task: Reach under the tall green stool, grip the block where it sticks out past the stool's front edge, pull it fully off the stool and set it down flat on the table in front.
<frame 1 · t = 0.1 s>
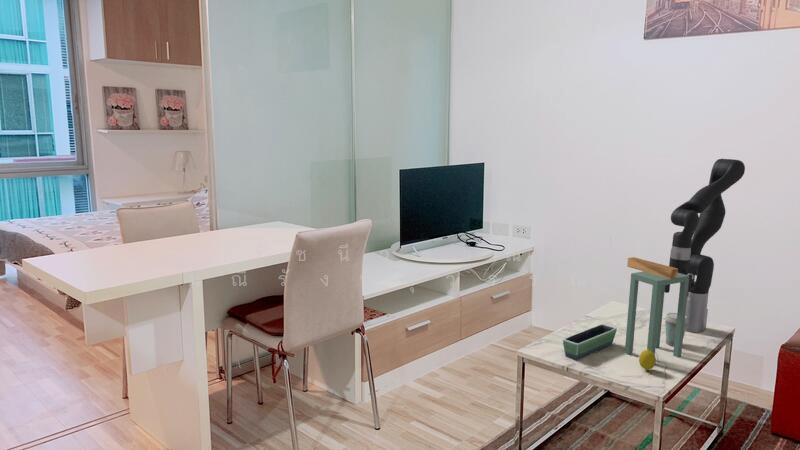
hand: (675, 295, 245), 17 cm above the table, tool pointing down, fingers open, 8 cm apart
coffee cup: (673, 344, 237), on the table
tall green stool: (652, 354, 226), on the table
lemon: (646, 370, 212), on the table
planter: (589, 351, 230), on the table
block: (651, 272, 224), point 32 cm above the table, touching tall green stool
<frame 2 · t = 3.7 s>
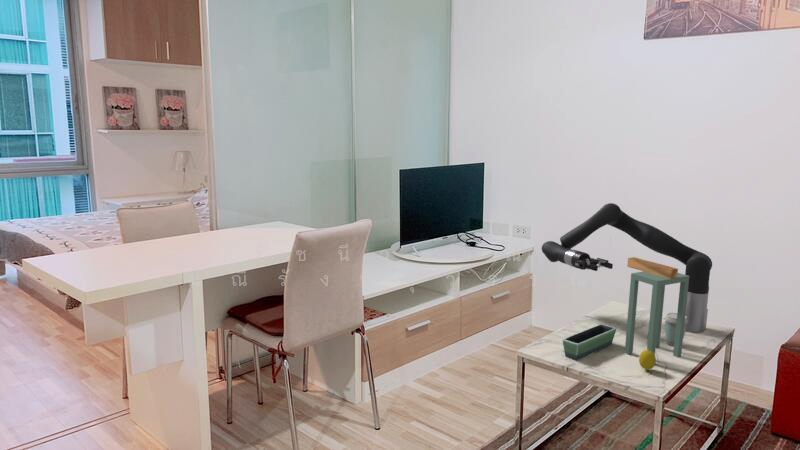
hand: (604, 267, 246), 28 cm above the table, tool horizontal, fingers open, 8 cm apart
nothing on the table moved.
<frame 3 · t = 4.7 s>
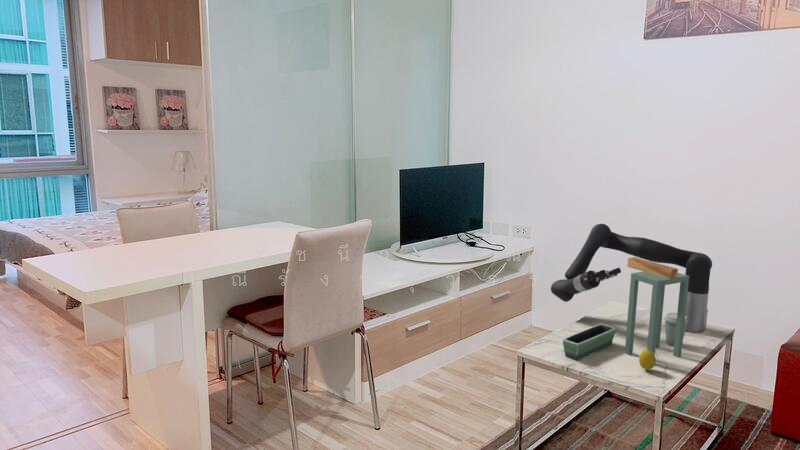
hand: (612, 271, 241), 28 cm above the table, tool pointing upward, fingers open, 8 cm apart
nothing on the table moved.
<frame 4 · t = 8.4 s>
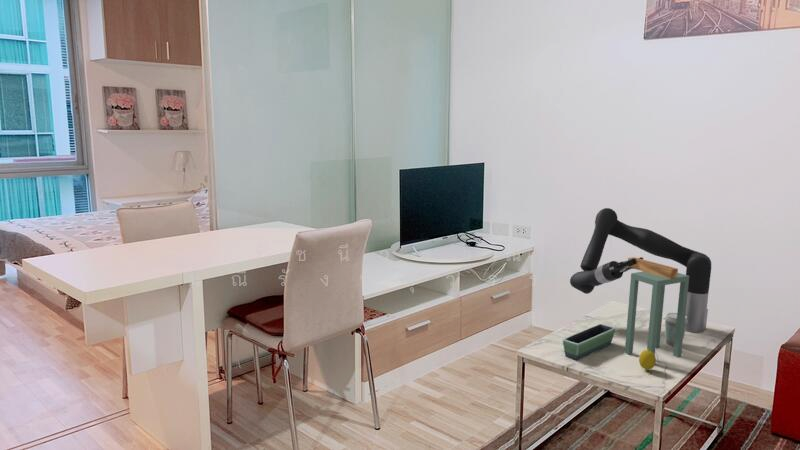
hand: (639, 260, 228), 35 cm above the table, tool pointing upward, fingers closed on block, 3 cm apart
block: (651, 272, 224), point 32 cm above the table, touching gripper, tall green stool
everything else where it was.
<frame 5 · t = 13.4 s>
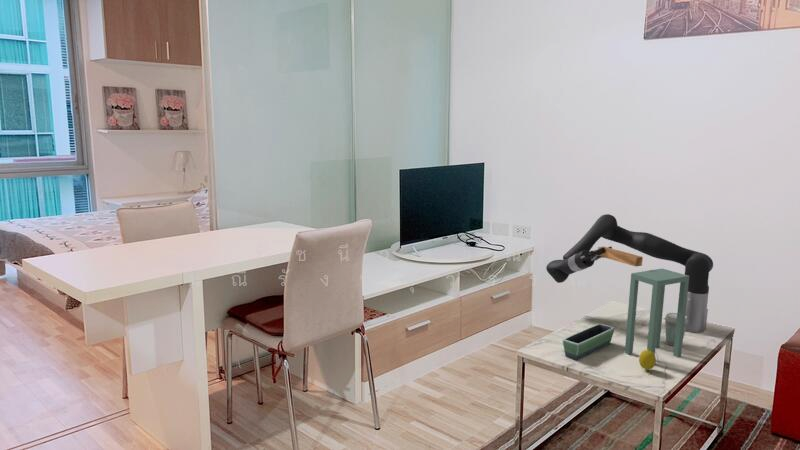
hand: (608, 249, 242), 36 cm above the table, tool pointing upward, fingers closed on block, 3 cm apart
block: (618, 260, 237), point 33 cm above the table, touching gripper
everything else where it was.
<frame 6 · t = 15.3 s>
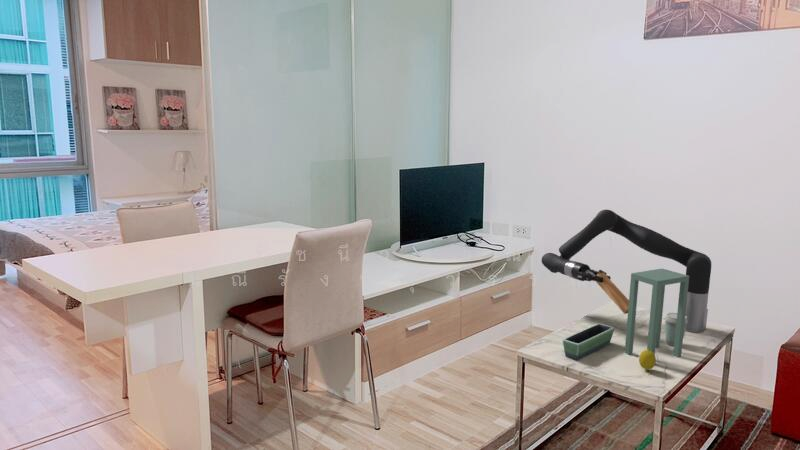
hand: (606, 279, 244), 23 cm above the table, tool horizontal, fingers closed on block, 3 cm apart
block: (611, 295, 242), point 17 cm above the table, tilted 29°, touching gripper
everything else where it was.
when the fingers open (13 cm above the table, at t = 18.5 s): block drops 7 cm, on the table.
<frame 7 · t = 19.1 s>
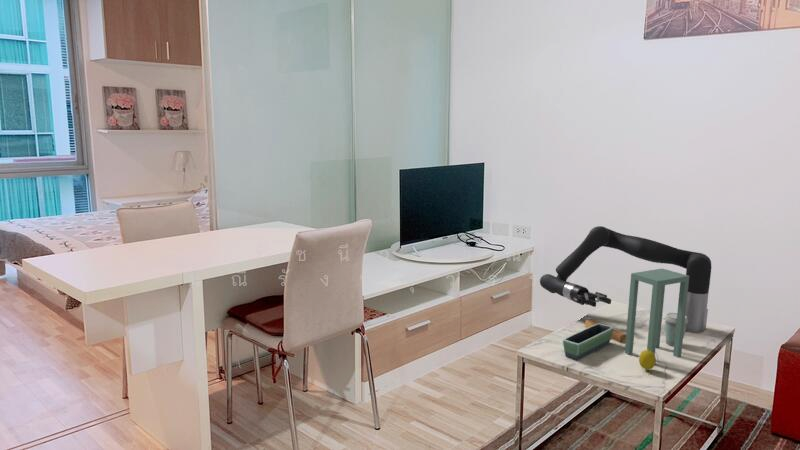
hand: (603, 303, 247), 13 cm above the table, tool horizontal, fingers open, 8 cm apart
block: (604, 334, 247), on the table
everything else where it was.
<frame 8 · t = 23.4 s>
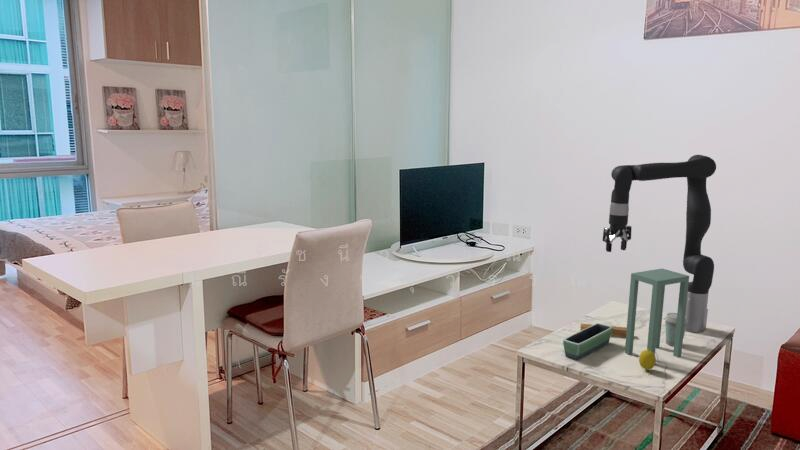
hand: (616, 250, 250), 34 cm above the table, tool pointing down, fingers open, 8 cm apart
at the end: block inside the target area (4.5 cm from its centre), on the table; block tilted 0°; the gripper is holding nothing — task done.
